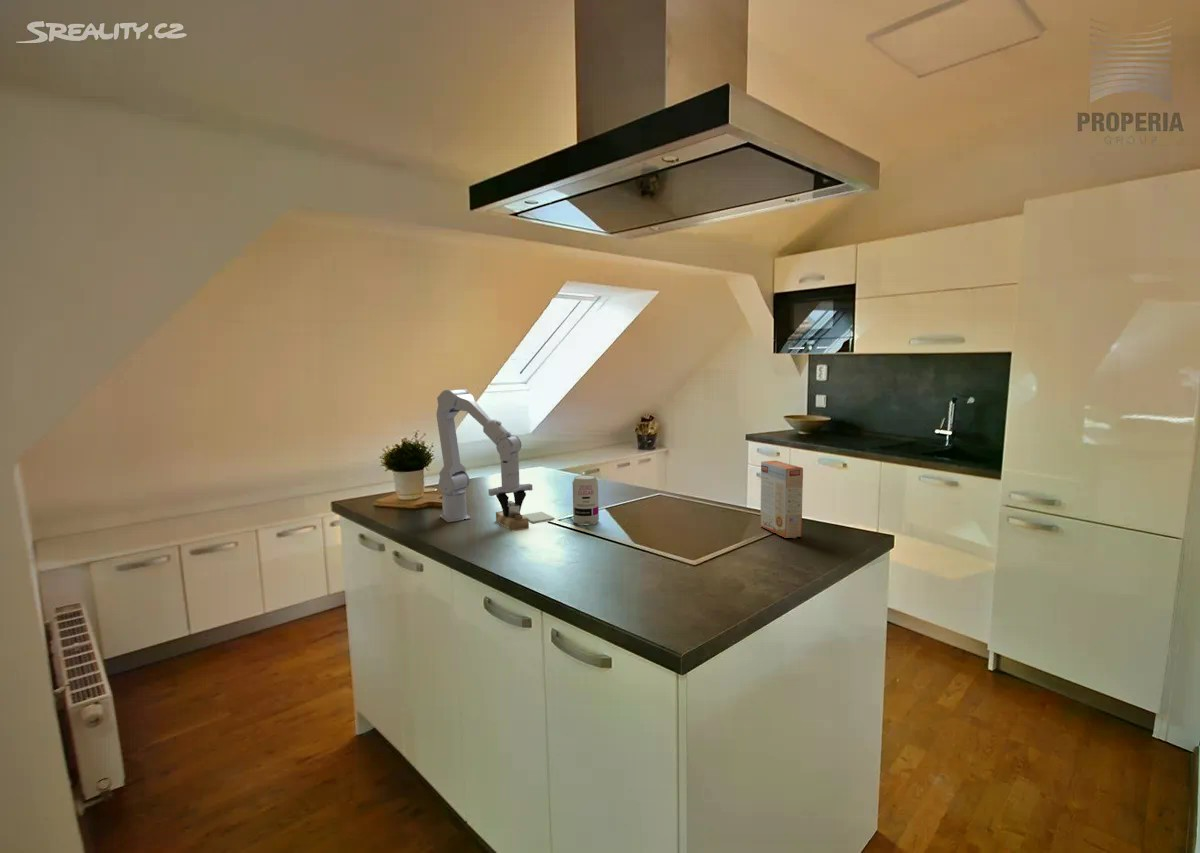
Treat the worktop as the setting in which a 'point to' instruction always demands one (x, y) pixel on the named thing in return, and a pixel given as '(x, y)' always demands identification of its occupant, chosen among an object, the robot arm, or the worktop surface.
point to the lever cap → (513, 508)
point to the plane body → (513, 521)
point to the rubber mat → (538, 517)
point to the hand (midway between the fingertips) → (511, 514)
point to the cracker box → (781, 498)
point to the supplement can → (585, 499)
